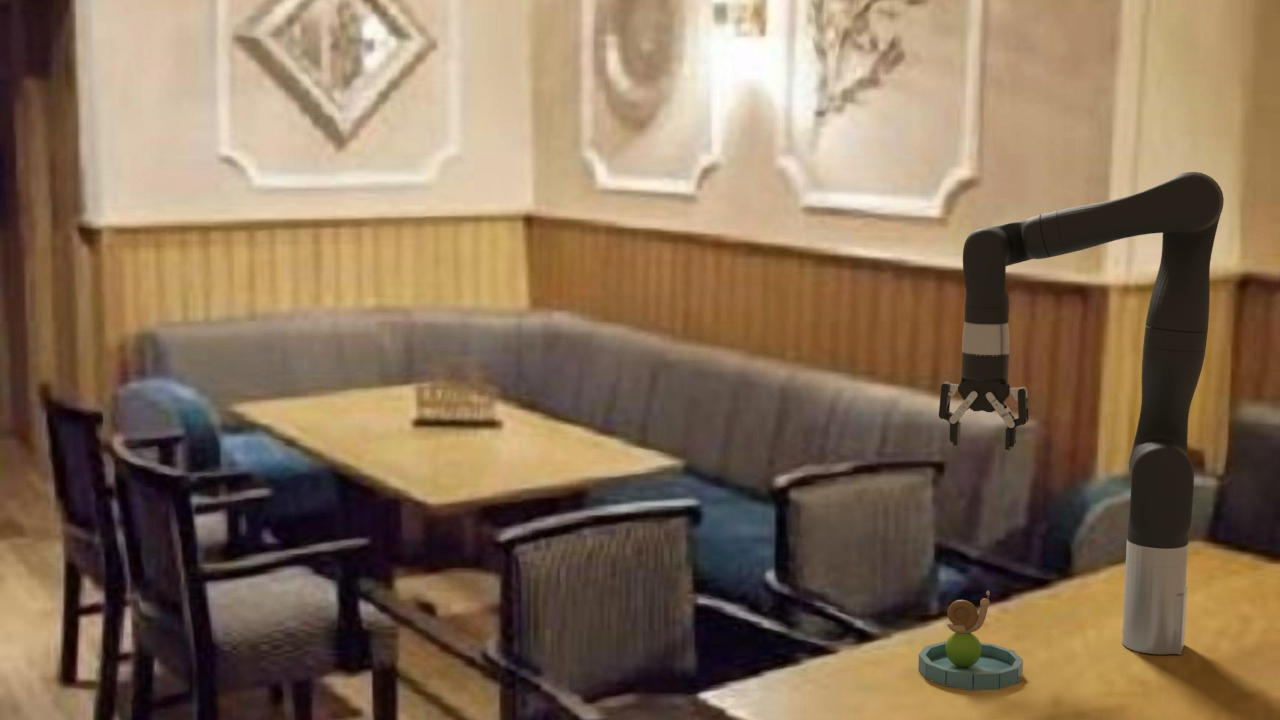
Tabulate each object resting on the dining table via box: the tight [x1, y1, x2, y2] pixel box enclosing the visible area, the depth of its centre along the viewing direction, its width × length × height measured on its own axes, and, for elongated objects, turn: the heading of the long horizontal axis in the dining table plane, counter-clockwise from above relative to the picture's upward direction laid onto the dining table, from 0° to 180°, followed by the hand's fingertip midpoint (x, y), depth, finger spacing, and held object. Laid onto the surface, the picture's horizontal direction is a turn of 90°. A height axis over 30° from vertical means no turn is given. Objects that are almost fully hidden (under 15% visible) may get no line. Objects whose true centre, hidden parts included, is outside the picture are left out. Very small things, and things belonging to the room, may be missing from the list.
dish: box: [918, 640, 1024, 691], centre depth 231 cm, size 15×15×2 cm
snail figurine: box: [945, 590, 991, 667], centre depth 230 cm, size 5×6×12 cm
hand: (982, 447), depth 250 cm, fingers open, 8 cm apart
